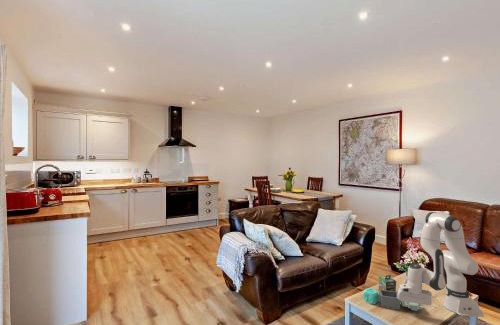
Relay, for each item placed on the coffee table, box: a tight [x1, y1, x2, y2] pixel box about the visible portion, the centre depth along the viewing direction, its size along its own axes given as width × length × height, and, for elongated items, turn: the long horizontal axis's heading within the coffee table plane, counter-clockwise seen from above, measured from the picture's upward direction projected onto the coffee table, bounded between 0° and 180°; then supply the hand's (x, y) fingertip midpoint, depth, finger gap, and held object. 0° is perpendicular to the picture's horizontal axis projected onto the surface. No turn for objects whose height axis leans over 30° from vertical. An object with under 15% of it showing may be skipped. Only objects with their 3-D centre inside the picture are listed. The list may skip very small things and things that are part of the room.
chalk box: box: [378, 274, 397, 292], centre depth 213 cm, size 9×9×15 cm
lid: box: [400, 301, 424, 312], centre depth 190 cm, size 13×15×3 cm
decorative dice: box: [362, 287, 379, 305], centre depth 201 cm, size 8×8×8 cm
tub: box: [378, 288, 401, 311], centre depth 196 cm, size 12×10×8 cm
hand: (413, 308), depth 186 cm, fingers closed on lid, 3 cm apart
